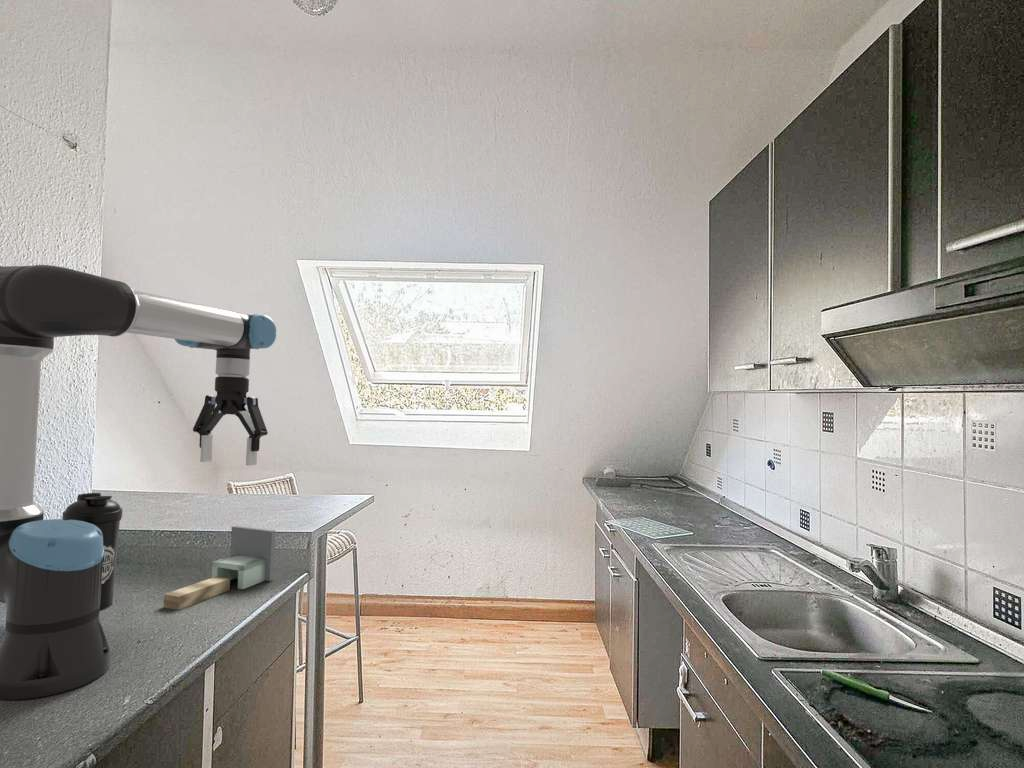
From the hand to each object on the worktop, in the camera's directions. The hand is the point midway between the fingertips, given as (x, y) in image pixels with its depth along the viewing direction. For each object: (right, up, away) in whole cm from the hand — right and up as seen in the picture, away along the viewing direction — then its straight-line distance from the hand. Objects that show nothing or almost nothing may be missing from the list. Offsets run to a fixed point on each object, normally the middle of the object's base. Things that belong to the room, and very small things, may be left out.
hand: (228, 463), depth 143 cm
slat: (0, -28, -15) cm, 32 cm away
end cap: (+4, -28, -3) cm, 29 cm away
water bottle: (-18, -27, -22) cm, 39 cm away
